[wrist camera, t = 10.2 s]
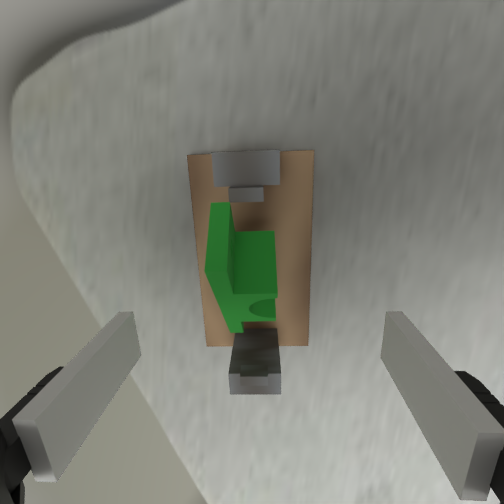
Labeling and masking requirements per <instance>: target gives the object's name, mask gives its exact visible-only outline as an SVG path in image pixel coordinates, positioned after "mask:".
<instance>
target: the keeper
mask: <svg viewBox="0 0 504 504" xmlns="http://www.w3.org/2000/svg"><path fill="white" fill-rule="evenodd" d="M187 160H188V170H189V179H190V189H191V199H192V208H193V218H194V228H195V237H196V247H197V256H198V266H199V276H200V285H201V295H202V305H203V314H204V324H205V334H206V343H207V346H233V349H232V355H231V362H230V368H229V386H230V394H281V367H280V355H279V346H308V337H309V304H310V271H311V238H312V205H313V172H314V150H303V151H280V150H255V151H230V152H211V154H203V155H187ZM215 202H230V204H231V210H232V216H233V222H234V227H235V232H245V231H275V249H276V268H277V286H278V298H275V305H276V321H251V322H244V333H230V331H229V329H228V326H227V324H226V321H225V319H224V317H223V314H222V312H221V310H220V307H219V305H218V303H217V300H216V298H215V296H214V293H213V291H212V288H211V286H210V284H209V281H208V279H207V277H206V274H205V272H204V270H205V259H206V249H207V238H208V227H209V217H210V206H211V203H215Z"/></svg>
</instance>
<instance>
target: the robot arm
mask: <svg viewBox="0 0 504 504" xmlns="http://www.w3.org/2000/svg"><path fill="white" fill-rule="evenodd" d="M140 356H141V351H140V346H139V341H138V335H137V330H136V325H135V319H134V314H133V312H119V313H118V314H117V315H116V316H115V317H114V318H113V319H112V320H111V321H110V322H109V323H108V324H107V325H106V326H105V327H104V328H103V329H102V330H101V331H100V332H99V333H98V334H97V335H96V336H95V337H94V338H93V339H92V340H91V341H90V342H89V343H88V344H87V345H86V346H85V347H84V348H83V349H82V350H81V351H80V352H79V353H78V354H77V355H76V356H75V357H74V358H73V359H72V360H71V361H70V362H69V363H68V364H67V365H66V366H65V367H58V368H57V369H55V370H54V371H52V372H51V373H49V374H47V375H46V376H45V377H44V378H43V379H42V380H41V381H40V382H39V383H38V384H37V385H36V387H33V389H31V390H30V391H29V392H28V393H27V395H25V396H24V397H23V398H22V399H21V400H20V401H19V402H18V403H17V404H16V405H15V406H14V407H13V408H12V409H11V410H9V412H7V413H6V414H5V415H4V416H3V417H2V418H1V419H0V504H24V495H25V487H24V484H23V481H22V480H23V479H24V477H25V476H26V475H27V474H28V472H29V471H30V470H32V473H33V475H34V478H35V481H39V482H57V481H58V480H59V478H60V477H61V475H62V474H63V472H64V471H65V469H66V468H67V466H68V465H69V463H70V462H71V460H72V458H73V457H74V456H75V454H76V452H77V451H78V450H79V448H80V447H81V445H82V444H83V442H84V441H85V439H86V438H87V436H88V435H89V433H90V431H91V430H92V428H93V427H94V425H95V424H96V423H97V421H98V419H99V418H100V416H101V415H102V413H103V412H104V410H105V409H106V407H107V406H108V404H109V403H110V401H111V400H112V398H113V397H114V395H115V394H116V392H117V391H118V389H119V388H120V386H121V385H122V383H123V382H124V380H125V379H126V377H127V376H128V374H129V373H130V371H131V370H132V368H133V367H134V365H135V364H136V362H137V361H138V359H139V358H140ZM381 359H382V361H383V363H384V364H385V366H386V368H387V370H388V372H389V373H390V375H391V377H392V379H393V381H394V382H395V384H396V386H397V388H398V390H399V391H400V393H401V395H402V397H403V399H404V400H405V402H406V404H407V406H408V408H409V409H410V411H411V413H412V415H413V417H414V418H415V420H416V422H417V424H418V425H419V427H420V429H421V431H422V433H423V434H424V436H425V438H426V440H427V442H428V443H429V445H430V447H431V449H432V451H433V452H434V454H435V456H436V458H437V460H438V461H439V463H440V465H441V467H442V469H443V470H444V472H445V474H446V476H447V477H448V479H449V481H450V483H451V485H452V486H453V488H454V490H455V492H456V494H457V495H458V497H459V499H460V500H474V501H486V500H487V497H488V494H489V491H490V487H491V488H492V490H493V491H494V493H495V494H496V496H497V497H498V499H499V500H500V504H504V406H503V405H502V404H500V402H499V401H498V400H497V399H496V398H495V397H494V395H491V392H490V391H489V390H488V389H487V388H486V387H485V386H484V385H483V384H482V383H481V382H480V381H479V380H478V379H476V378H475V377H473V376H472V375H470V374H469V373H467V372H465V371H453V370H452V368H451V367H450V366H449V365H448V364H447V363H446V362H445V360H444V359H443V358H442V357H441V356H440V355H439V354H438V352H437V351H436V350H435V349H434V348H433V347H432V345H431V344H430V343H429V342H428V341H427V340H426V339H425V337H424V336H423V335H422V334H421V333H420V332H419V330H418V329H417V328H416V327H415V326H414V325H413V324H412V322H411V321H410V320H409V319H408V318H407V317H406V316H405V314H404V313H403V312H386V318H385V326H384V334H383V342H382V350H381Z"/></svg>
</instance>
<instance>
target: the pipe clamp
mask: <svg viewBox="0 0 504 504" xmlns="http://www.w3.org/2000/svg"><path fill="white" fill-rule="evenodd" d="M204 272H205V274H206V277H207V279H208V281H209V284H210V286H211V288H212V291H213V293H214V296H215V298H216V300H217V303H218V305H219V307H220V310H221V312H222V314H223V317H224V319H225V321H226V324H227V326H228V329H229V331H230V333H244V322H251V321H276V305H275V298H278V286H277V268H276V249H275V231H245V232H235V227H234V222H233V216H232V210H231V204H230V202H215V203H211V206H210V217H209V227H208V238H207V249H206V259H205V270H204Z"/></svg>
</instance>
